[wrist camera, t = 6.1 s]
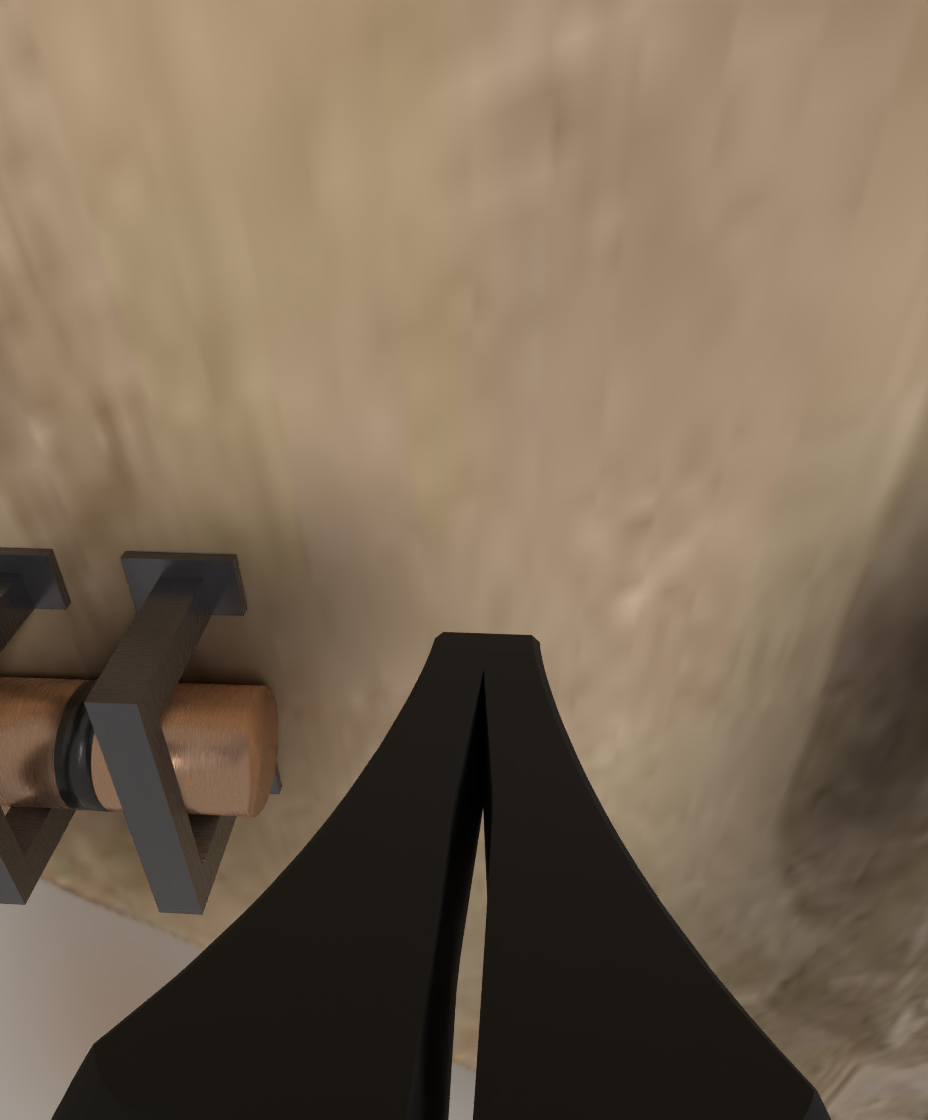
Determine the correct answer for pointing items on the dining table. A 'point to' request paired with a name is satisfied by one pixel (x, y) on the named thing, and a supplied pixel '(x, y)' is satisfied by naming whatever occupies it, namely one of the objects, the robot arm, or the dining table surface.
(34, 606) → the collar
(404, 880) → the robot arm
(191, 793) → the tube
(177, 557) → the dark grey support bracket
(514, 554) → the dining table surface
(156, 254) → the dining table surface
